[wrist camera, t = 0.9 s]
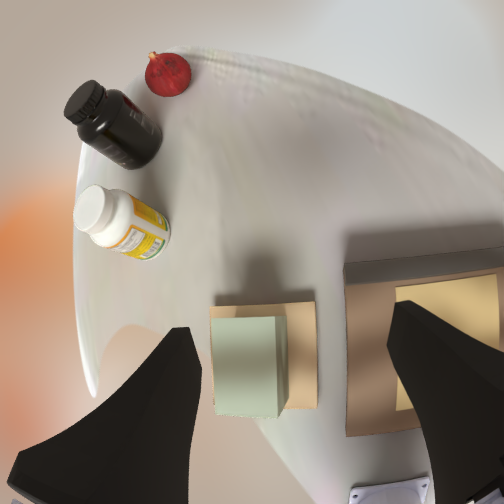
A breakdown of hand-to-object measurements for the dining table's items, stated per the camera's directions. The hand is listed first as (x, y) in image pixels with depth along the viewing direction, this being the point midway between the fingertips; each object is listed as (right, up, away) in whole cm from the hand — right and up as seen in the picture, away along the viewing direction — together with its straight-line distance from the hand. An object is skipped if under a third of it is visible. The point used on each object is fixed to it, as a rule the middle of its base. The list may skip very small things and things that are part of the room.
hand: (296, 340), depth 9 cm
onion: (-11, +24, +24) cm, 36 cm away
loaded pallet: (0, -6, +15) cm, 16 cm away
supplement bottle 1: (-15, +16, +24) cm, 33 cm away
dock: (+15, -5, +10) cm, 19 cm away
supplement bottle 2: (-12, +5, +20) cm, 24 cm away
